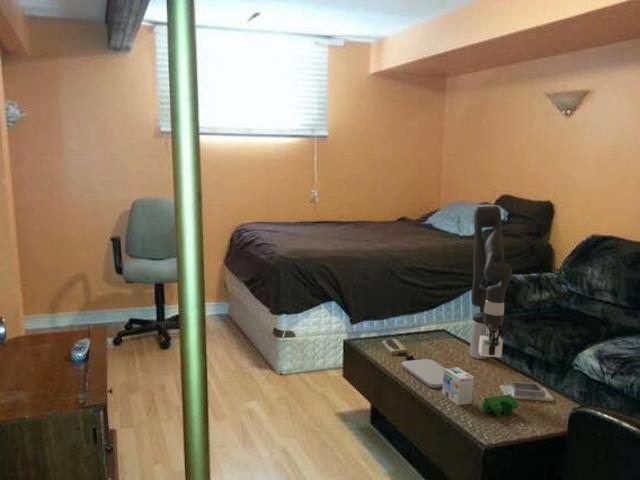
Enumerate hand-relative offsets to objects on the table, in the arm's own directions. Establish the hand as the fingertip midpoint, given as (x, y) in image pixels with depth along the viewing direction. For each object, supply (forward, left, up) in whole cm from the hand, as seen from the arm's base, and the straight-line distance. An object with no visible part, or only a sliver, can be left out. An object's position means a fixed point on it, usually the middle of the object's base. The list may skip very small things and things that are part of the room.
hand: (490, 352), depth 224 cm
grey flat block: (+4, +15, -15) cm, 21 cm away
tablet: (-10, -22, -16) cm, 29 cm away
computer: (-40, -35, -16) cm, 56 cm away
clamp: (+23, 0, -16) cm, 28 cm away
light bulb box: (+13, -14, -16) cm, 25 cm away
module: (0, 0, -1) cm, 1 cm away
